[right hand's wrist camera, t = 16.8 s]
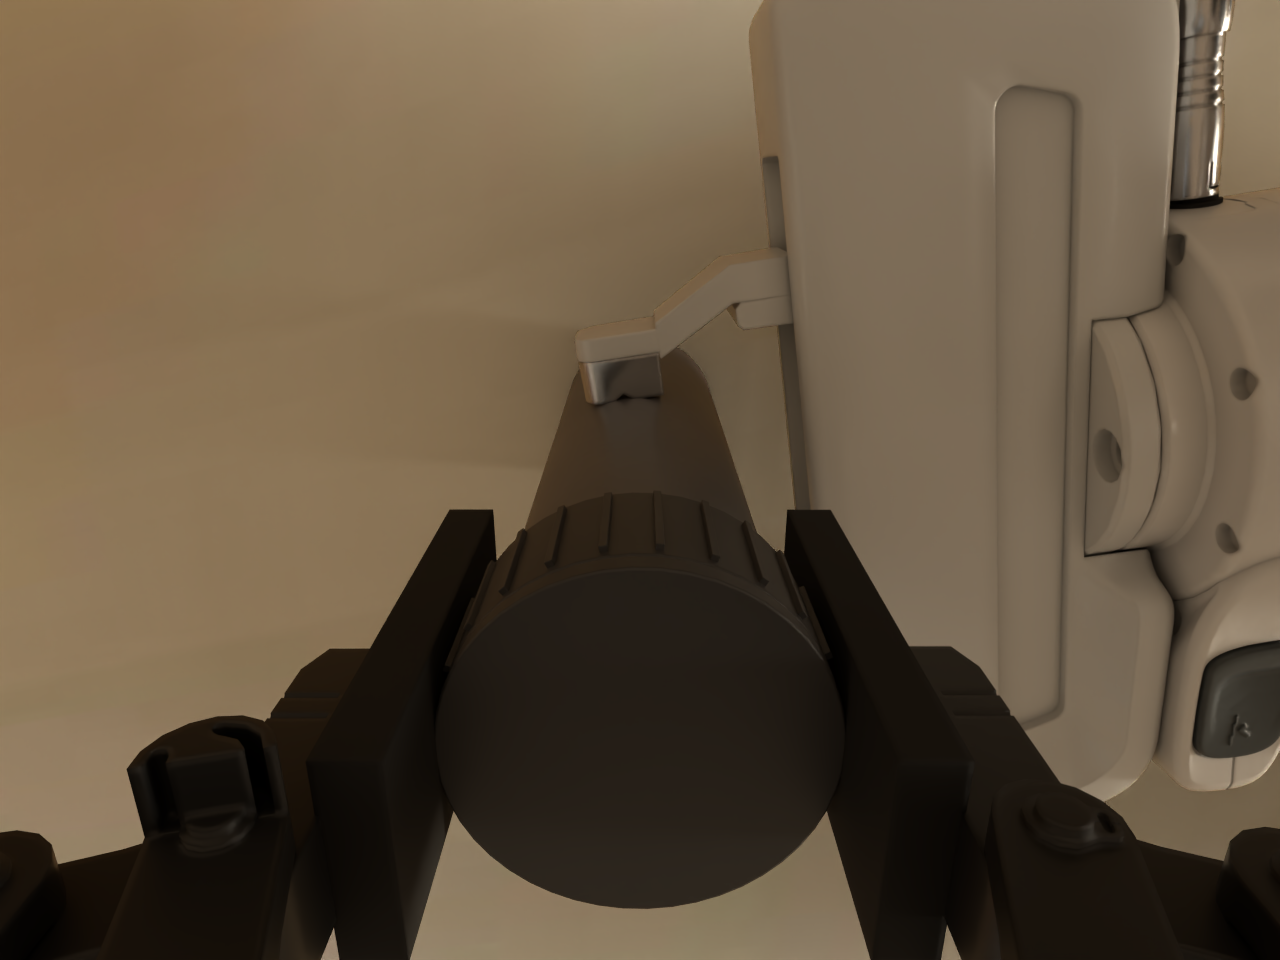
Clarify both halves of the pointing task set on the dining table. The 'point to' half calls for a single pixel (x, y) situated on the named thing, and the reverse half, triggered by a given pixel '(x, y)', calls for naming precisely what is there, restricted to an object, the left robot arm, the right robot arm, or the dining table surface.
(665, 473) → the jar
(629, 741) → the lid
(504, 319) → the dining table surface
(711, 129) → the dining table surface
